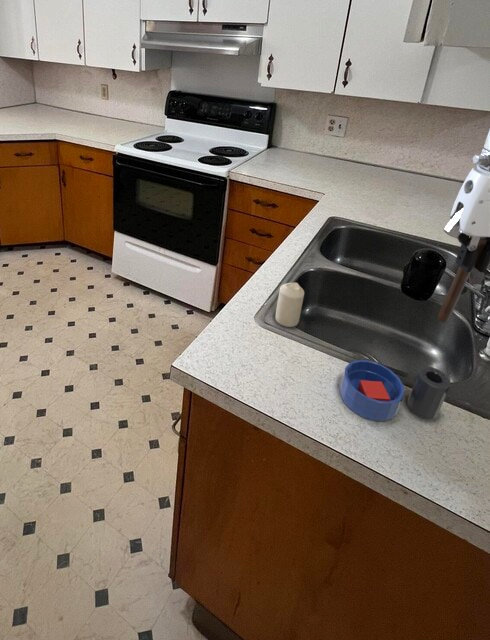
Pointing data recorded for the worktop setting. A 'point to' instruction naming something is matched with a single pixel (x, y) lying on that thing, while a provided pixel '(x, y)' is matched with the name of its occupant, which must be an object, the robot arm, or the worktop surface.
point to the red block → (373, 390)
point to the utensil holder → (428, 392)
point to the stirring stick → (458, 286)
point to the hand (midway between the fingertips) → (470, 267)
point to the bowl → (364, 404)
